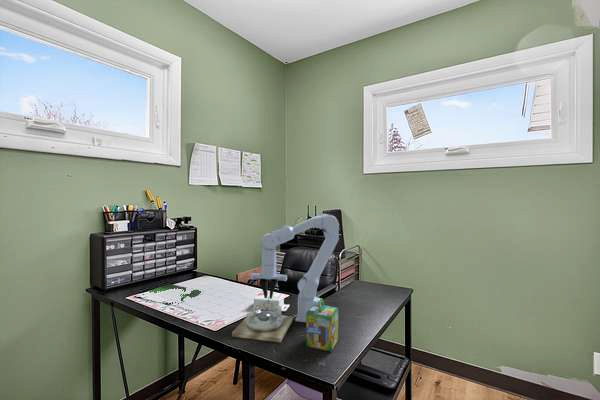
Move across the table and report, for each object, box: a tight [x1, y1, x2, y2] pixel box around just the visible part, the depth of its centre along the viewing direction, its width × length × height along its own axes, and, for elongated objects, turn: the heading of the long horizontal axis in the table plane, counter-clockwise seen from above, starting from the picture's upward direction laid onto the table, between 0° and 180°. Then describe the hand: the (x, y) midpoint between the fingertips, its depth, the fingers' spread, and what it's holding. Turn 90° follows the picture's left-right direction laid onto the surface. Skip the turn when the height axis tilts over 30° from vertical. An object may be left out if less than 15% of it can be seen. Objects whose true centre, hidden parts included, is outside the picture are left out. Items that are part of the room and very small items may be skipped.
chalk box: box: [305, 297, 339, 353], centre depth 97 cm, size 9×9×15 cm
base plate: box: [231, 311, 294, 343], centre depth 108 cm, size 18×18×2 cm
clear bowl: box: [245, 304, 284, 332], centre depth 108 cm, size 14×14×5 cm
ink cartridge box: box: [253, 292, 290, 312], centre depth 128 cm, size 9×5×15 cm
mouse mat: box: [143, 283, 201, 306], centre depth 143 cm, size 27×22×1 cm
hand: (268, 297), depth 114 cm, fingers closed
